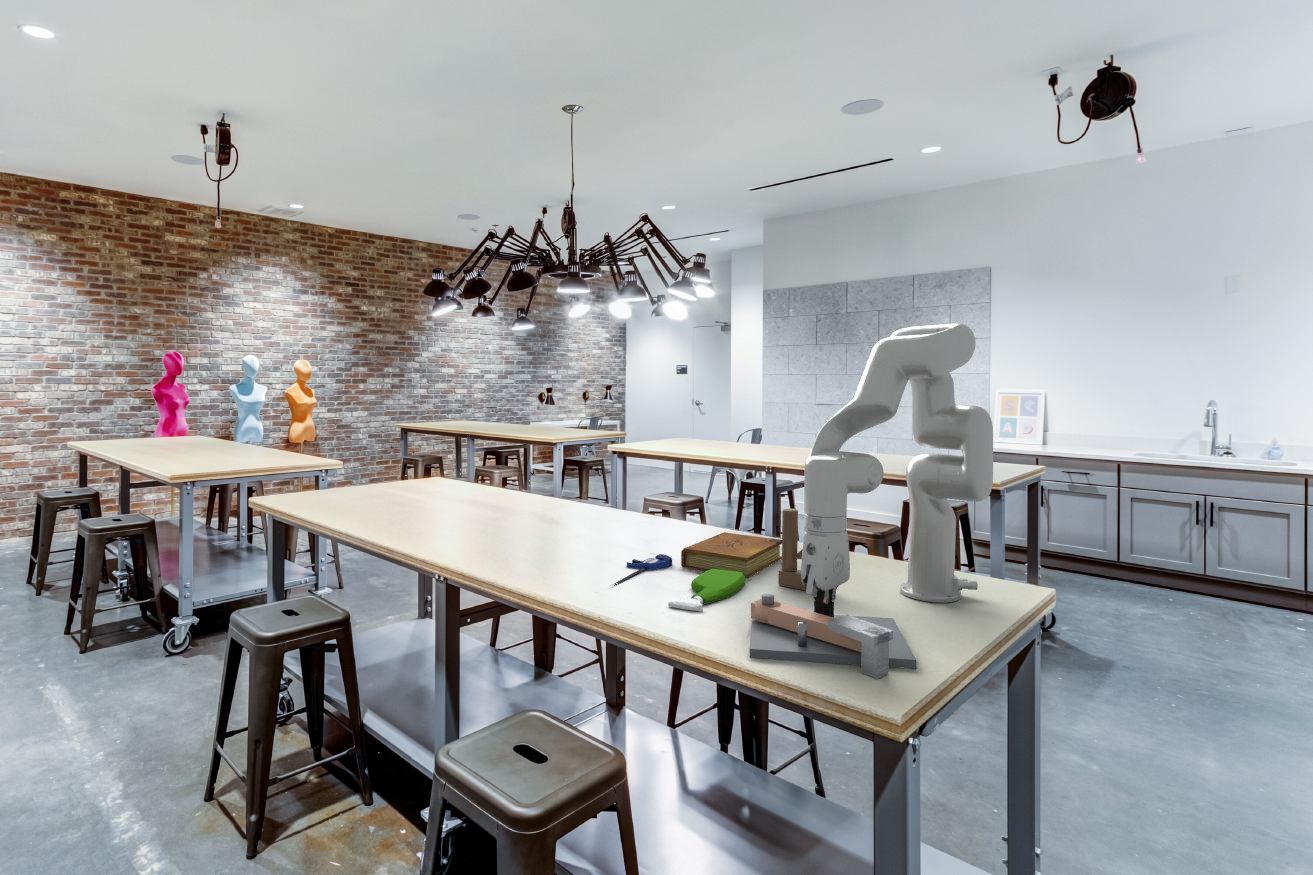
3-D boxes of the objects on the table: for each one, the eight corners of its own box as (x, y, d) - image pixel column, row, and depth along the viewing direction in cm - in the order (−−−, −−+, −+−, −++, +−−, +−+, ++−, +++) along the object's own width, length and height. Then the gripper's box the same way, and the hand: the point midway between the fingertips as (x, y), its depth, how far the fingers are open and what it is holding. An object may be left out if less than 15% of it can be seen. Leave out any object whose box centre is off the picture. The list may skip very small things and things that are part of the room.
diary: (721, 551, 187) (721, 531, 187) (782, 560, 177) (783, 539, 176) (681, 568, 168) (681, 547, 167) (747, 580, 158) (747, 556, 157)
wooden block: (821, 594, 145) (822, 515, 144) (777, 585, 152) (778, 509, 150) (827, 590, 148) (829, 512, 147) (785, 582, 154) (786, 507, 153)
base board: (892, 625, 125) (893, 618, 125) (916, 668, 106) (916, 659, 106) (752, 617, 130) (752, 610, 130) (749, 657, 110) (749, 648, 110)
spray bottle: (749, 585, 153) (709, 618, 132) (707, 578, 158) (661, 610, 137) (749, 572, 153) (709, 604, 132) (707, 567, 158) (661, 596, 137)
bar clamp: (643, 551, 176) (676, 555, 171) (643, 559, 176) (676, 564, 172) (574, 586, 148) (611, 592, 143) (575, 596, 148) (612, 603, 143)
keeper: (795, 653, 112) (796, 613, 112) (821, 644, 116) (822, 606, 115) (865, 683, 100) (866, 639, 100) (892, 672, 104) (893, 630, 104)
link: (749, 618, 123) (749, 595, 123) (764, 612, 127) (764, 590, 127) (863, 653, 107) (864, 627, 106) (877, 645, 110) (878, 619, 110)
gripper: (822, 533, 110) (820, 638, 111) (863, 520, 120) (862, 616, 122) (784, 526, 115) (783, 627, 116) (827, 514, 126) (826, 607, 127)
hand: (823, 621), depth 119 cm, fingers closed
